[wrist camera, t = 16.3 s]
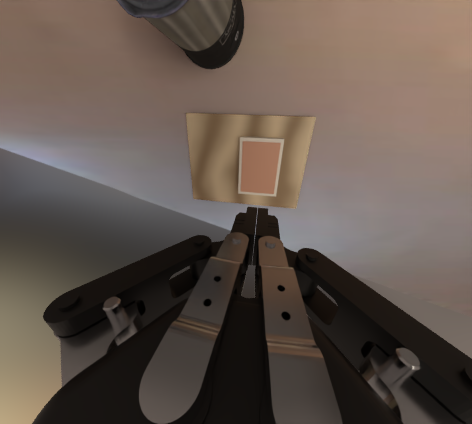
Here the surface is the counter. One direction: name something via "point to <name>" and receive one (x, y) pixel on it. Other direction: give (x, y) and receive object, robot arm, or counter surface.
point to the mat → (228, 149)
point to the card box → (259, 165)
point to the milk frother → (195, 26)
